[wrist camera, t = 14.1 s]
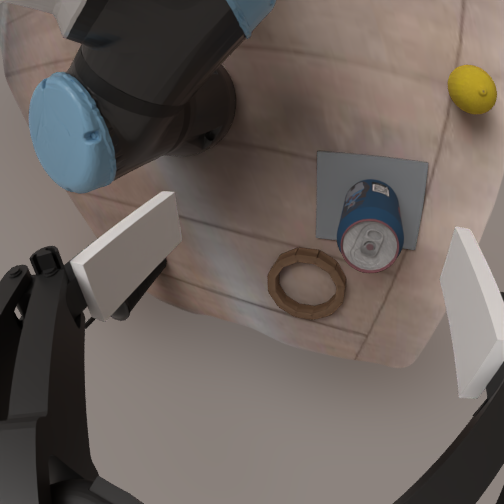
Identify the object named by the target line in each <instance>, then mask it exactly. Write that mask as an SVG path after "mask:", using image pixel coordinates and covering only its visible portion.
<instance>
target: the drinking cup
mask: <svg viewBox="0 0 504 504" xmlns="http://www.w3.org/2000/svg"><path fill="white" fill-rule="evenodd" d="M165 266H166V258H165V259H164V260H163V261H162V262H161V263H160V264H159V265H158V266H157V267H156V268H155V269H154V270H153V271H152V272H151V273H150V274H149V275H148V276H147V277H146V278H145V279H144V281H143V282H142V283H141V284H140V285H139V286H138V287H137V288H136V289H135V290H134V291H133V292H132V293H131V294H130V296H129V297H128V298H127V299H126V300H125V301H124V302H123V303H122V304H121V305H120V306H119V307H118V309H117V310H116V311H115V312H114V313H113V314H112V315H111V316H110V317H112V318H114V319H116V320H120V321H122V320H126V319H127V318H128V317H129V315H130V312H131V310H132V309H133V308H134V306H135V305H136V304H137V302H138V301H139V300H140V299H141V297H142V296H143V295H144V293H145V292H146V291H147V289H148V288H149V287H150V286H151V284H152V283H153V282H154V280H155V279H156V278H157V277H158V275H159V274H160V273H161V272H162V270H163V269H164V268H165ZM94 320H95V318H93V317H91V318H90V319H89V320H88V321H87V322H86V323H85V329H86V328H87V327H88V326H89V325H90V324H91V323H92V322H93V321H94Z"/></svg>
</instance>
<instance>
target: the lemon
mask: <svg viewBox="0 0 504 504" xmlns="http://www.w3.org/2000/svg"><path fill="white" fill-rule="evenodd" d="M448 91H449V95H450V97H451V99H452V100H453V102H454V103H455V104H456V105H457V106H458V107H459V108H460V109H461V110H463V111H465V112H467V113H470V114H483V113H486V112H488V111H489V110H490V109H492V107H493V106H494V105H495V102H496V98H497V91H496V86H495V83H494V81H493V80H492V78H491V77H490V76H489V75H488V74H487V73H486V72H485V71H484V70H482V69H481V68H479V67H476V66H473V65H463V66H459V67H458V68H456V69H455V70H454V71H453V72H452V73H451V74H450V76H449V79H448Z"/></svg>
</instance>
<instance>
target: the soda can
mask: <svg viewBox="0 0 504 504" xmlns="http://www.w3.org/2000/svg"><path fill="white" fill-rule="evenodd" d="M337 244H338V247H339V250H340V252H341V253H342V255H343V258H344V259H345V261H346V262H347V263H348V264H349V265H350V266H351V267H352V268H354V269H356V270H358V271H361V272H364V273H377V272H380V271H383V270H385V269H387V268H388V267H390V266H391V265H392V264H393V263H394V261H395V260H396V258H397V257H398V256H399V254H400V252H401V250H402V248H403V244H404V233H403V226H402V220H401V213H400V207H399V202H398V198H397V195H396V194H395V192H394V191H393V189H392V188H391V187H390V186H389V185H387V184H386V183H384V182H382V181H379V180H375V179H367V180H362V181H360V182H358V183H356V184H355V185H353V186H352V187H351V188H350V189H349V191H348V193H347V194H346V197H345V201H344V205H343V209H342V214H341V218H340V222H339V226H338V230H337Z"/></svg>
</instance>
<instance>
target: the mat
mask: <svg viewBox="0 0 504 504" xmlns="http://www.w3.org/2000/svg"><path fill="white" fill-rule="evenodd" d="M427 171H428V162H422V161H414V160H407V159H399V158H391V157H382V156H373V155H363V154H352V153H340V152H326V151H317V211H316V238H322V239H331V240H337V230H338V226H339V222H340V218H341V214H342V209H343V205H344V201H345V197H346V194H347V193H348V191H349V189H350V188H351V187H352V186H353V185H355V184H356V183H358V182H360V181H362V180H367V179H375V180H379V181H382V182H384V183H386V184H387V185H389V186H390V187H391V188H392V189H393V191H394V192H395V194H396V195H397V198H398V202H399V207H400V213H401V220H402V226H403V233H404V244H403V249H411V250H415V248H416V243H417V237H418V232H419V226H420V221H421V215H422V208H423V202H424V195H425V187H426V180H427Z"/></svg>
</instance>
